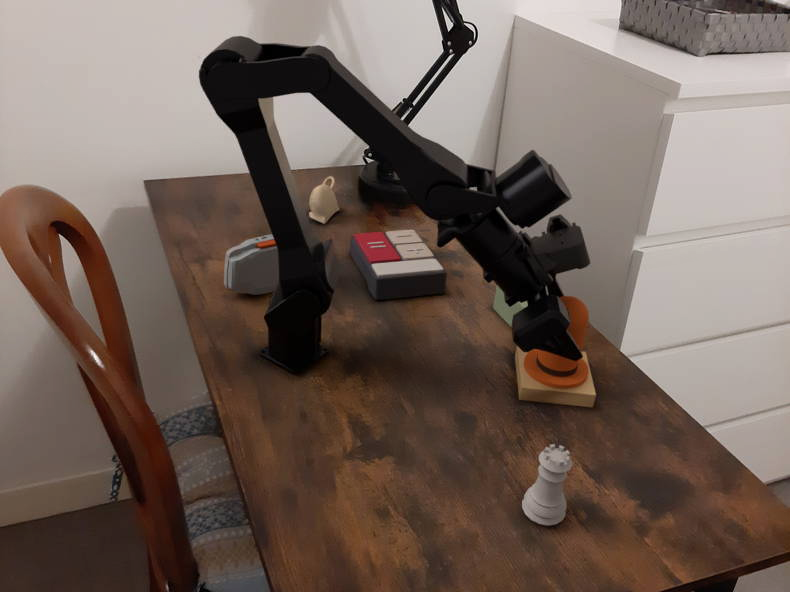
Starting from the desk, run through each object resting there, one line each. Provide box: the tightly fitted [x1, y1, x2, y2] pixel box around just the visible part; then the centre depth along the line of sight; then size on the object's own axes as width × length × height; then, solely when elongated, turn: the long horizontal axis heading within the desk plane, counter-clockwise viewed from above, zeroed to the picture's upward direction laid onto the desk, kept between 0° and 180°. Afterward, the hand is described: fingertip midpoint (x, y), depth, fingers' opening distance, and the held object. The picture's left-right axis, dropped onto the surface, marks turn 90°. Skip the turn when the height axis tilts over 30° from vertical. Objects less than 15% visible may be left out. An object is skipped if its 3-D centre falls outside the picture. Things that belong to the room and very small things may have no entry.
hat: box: [524, 295, 590, 388], centre depth 92 cm, size 8×8×10 cm
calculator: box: [349, 229, 448, 301], centre depth 116 cm, size 11×4×15 cm
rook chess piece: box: [521, 443, 573, 527], centre depth 75 cm, size 4×4×8 cm
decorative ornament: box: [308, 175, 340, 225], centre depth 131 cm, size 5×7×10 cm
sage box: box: [492, 285, 528, 328], centre depth 106 cm, size 5×9×4 cm, turn 24°
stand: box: [514, 345, 597, 408], centre depth 95 cm, size 9×9×2 cm
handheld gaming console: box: [223, 233, 279, 296], centre depth 108 cm, size 14×3×8 cm, turn 124°
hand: (574, 336), depth 92 cm, fingers open, 9 cm apart
